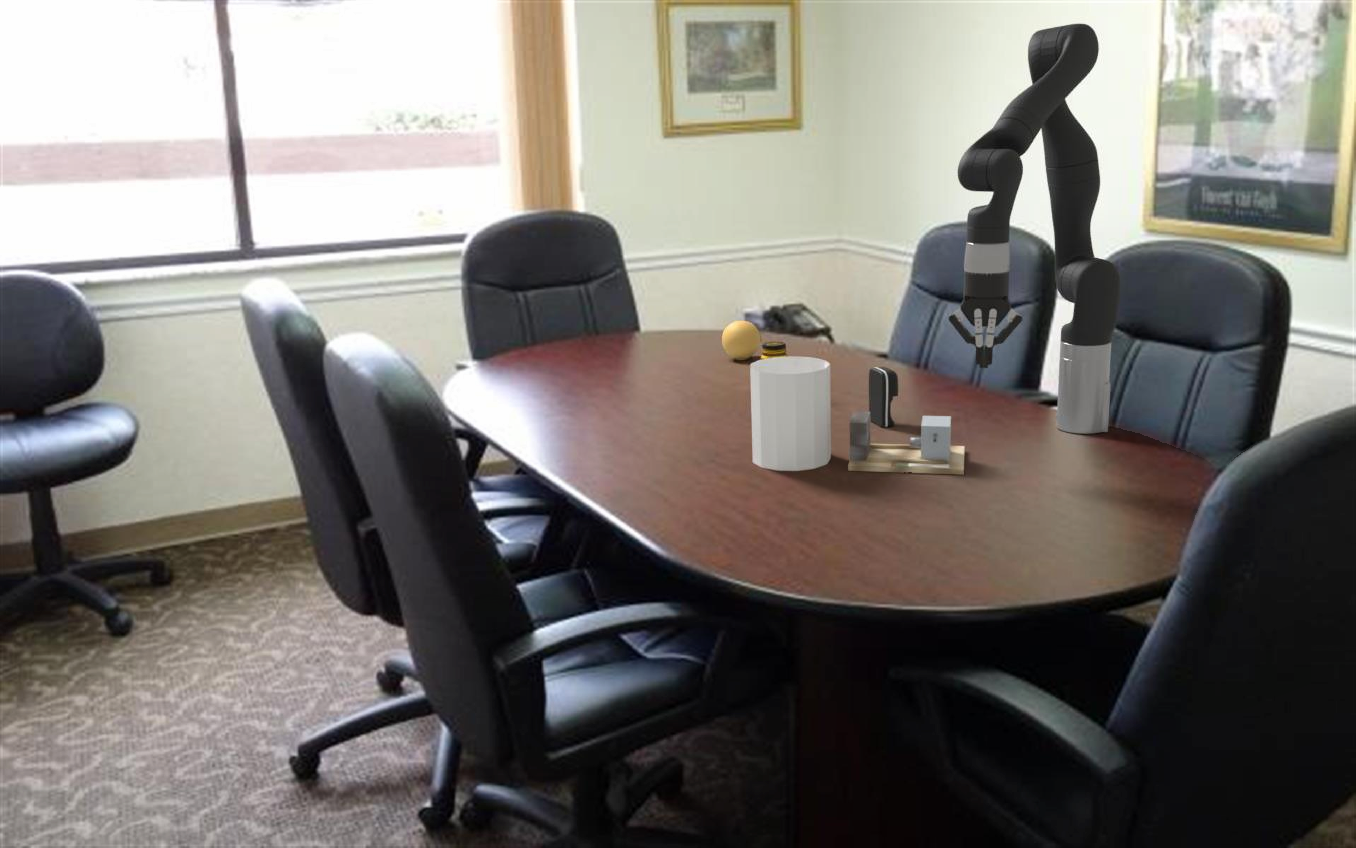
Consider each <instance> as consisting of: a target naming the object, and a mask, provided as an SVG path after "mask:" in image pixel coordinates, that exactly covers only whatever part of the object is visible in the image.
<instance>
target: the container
mask: <svg viewBox="0 0 1356 848" xmlns="http://www.w3.org/2000/svg"><path fill="white" fill-rule="evenodd" d="M749 366H750V367H749V368H750V369H749V373H750V376H749V377H750V404H751V405H750V407H751V408H750V409H751V415H750V416H751V445H752V447H751V448H752V449H751V450H752V451H751V452H752V463H753V464H754V465H756V466H758V467H760V468H762V469H767V470H772V471H780V472H783V471H784V472H786V471H787V472H799V471H806V470H807V471H808V470H814V469H817V468H820V467H823V466H826V465H828V464H829V462H830V460H831V458H832V453H831V452H832V450H831V449H832V448H831V447H832V446H831V445H832V444H831V443H832V442H831V441H832V439H831V436H832V435H831V433H832V432H831V363H830V362H828V361H827V360H825V359H821V358H817V357H811V356H810V357H809V356H798V355H797V356H793V355H792V356H788V357H774V358H768V359H762V360H761V359H759V360H756V361H754V362H751V363H750V365H749Z"/></svg>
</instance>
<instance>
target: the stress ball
mask: <svg viewBox="0 0 1356 848" xmlns="http://www.w3.org/2000/svg"><path fill="white" fill-rule="evenodd" d="M761 342H762V336H761V332H759V330H758V328H757V326H756V324H755V323H753V322H751V321H750V322H749V321H747V320H741V319H740V320H735V321H733V322H731V323H729V324H728V325H727V326H726V327H725V328H724V330H723V332H722V336H721V344H722V347H723V350H724V351H725V352H726V353H727V354H728V355H729V357H732V358H733V359H735V360H737V361H747V360H748V359H749V358H750V357H752V356H754V355H755V354H756V353H757V351H758V350H759V348H760V345H761Z"/></svg>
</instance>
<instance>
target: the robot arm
mask: <svg viewBox="0 0 1356 848" xmlns="http://www.w3.org/2000/svg"><path fill="white" fill-rule="evenodd" d="M1099 45H1100V44H1099V40H1098V36H1097V33H1096V31H1095V30H1094V29H1093V27H1092V26H1090V25H1089V24H1086V23H1071V24H1066V25H1060V26H1053V27H1051V28H1050V27H1049V28H1048V27H1047V28H1045V29H1044V28H1043V29H1039V30H1036V31H1035V32H1034V33H1033V34H1032V35H1031V37H1030V39H1029V42H1028V47H1027V62H1028V69H1029V74H1030V78H1031V79H1030V81H1031V83H1032V84H1031V85H1030V86H1028V87H1027V88H1025V89H1024V90H1023V91H1022V92H1021V93H1019V94H1018V95H1017V96H1015V98H1013V99H1012V100H1011V101H1010V102H1009V103H1008V104H1007V106H1006V107H1005V108H1004V110H1003V111H1002V113H1001V114H1000V116H999V118H998V119H997V121H996V122H995V123H994V125H993V127H992V128H991V129H990V130H988V131H987V132H985V133H984V134H983V135H982V136H980V138H978V139H977V140H976V141H975V142H973V143H972V144H971V145H970V146H969V147H968V148H967V149H966V151H965V152H964V153H963V155H962V156H961V158H960V160H959V162H958V163H959V164H958V166H957V179H958V182H959V184H960V186H962V188H964V189H965V190H968V191H971V192H981V193H982V192H984V193H985V192H986V193H987V192H990V193H991V192H992V193H993V194H992V197H991V198H990V200H989V202H988V204H985V205H979V206H974V207H972V208H970V209H969V211H968V213H967V219H966V221H967V222H966V224H967V225H966V228H967V229H966V245H965V252H964V263H963V268H964V271H963V299H962V301H961V302H960V305H959V308H958V309H957V310H954V312H950V313H949V315H948V321H949V322H950V323H951V325H952V326H953V328H954V329H955V330H956V331H957V332H958V334H959V335H960V337H961V338H962V339H963V340H964V341H965V343H966V344H971V345H973V346H974V347H975V363H976V366H979V368H980V369H988V368H989V366H991V365H992V364H993V357H994V356H993V354H994V353H993V351H994V348H995V347H994V346H996V345H1001V344H1003V343H1004V342H1005V341H1006V340H1007V339H1008V337H1009V336H1011V334H1012V333H1013V332H1014V331H1015V330H1016V328H1017V327H1018V326H1019V325H1020V324H1021V323H1022V321H1023V316H1022V313H1019V312H1016V311H1015V310H1014V309H1013V308H1012V304H1011V302H1010V300H1009V293H1010V268H1011V252H1010V229H1011V228H1010V226H1011V225H1010V224H1011V223H1010V222H1011V215H1012V213H1013V208H1014V205H1015V201H1016V198H1017V194H1018V191H1019V188H1020V186H1021V182H1022V179H1023V174H1024V173H1023V172H1024V165H1023V160H1022V158H1021V157H1022V156H1023V155H1024V154H1026V153H1027V151H1028V150H1029V149H1030V147H1031V145H1032V143H1033V142H1034V141H1035V139H1036V138H1037V135H1038V134H1039V132H1040V131H1041V137H1042V144H1043V154H1044V163H1045V173H1046V181H1047V188H1048V193H1049V201H1050V210H1051V211H1050V212H1051V218H1052V219H1051V220H1052V221H1051V222H1052V226H1053V234H1054V235H1053V236H1054V237H1053V238H1054V239H1053V240H1054V276H1055V277H1054V279H1055V285H1056V289H1057V291H1058V293H1059V295H1060V296H1061V298H1063V299H1064V300H1065V301H1067V302H1069V303H1073V304H1074V305H1073V313H1072V319H1071V320H1070V321H1069V322H1068V323H1065V324H1064V325H1062V326H1061V331H1060V343H1059V344H1060V345H1059V346H1060V347H1059V366H1058V368H1059V369H1058V383H1057V384H1058V386H1057V387H1058V389H1057V407H1056V409H1057V411H1056V427H1057V429H1058V430H1060V431H1063V432H1066V433H1071V434H1089V435H1090V434H1097V433H1108V432H1109V418H1110V417H1109V416H1110V400H1111V382H1110V374H1111V373H1110V371H1111V370H1110V369H1111V354H1112V338H1113V337H1112V336H1113V333H1114V331H1115V329H1116V327H1117V323H1118V319H1119V318H1118V316H1119V310H1120V309H1119V308H1120V298H1121V287H1122V286H1121V284H1122V283H1121V281H1122V280H1121V275H1120V272H1119V269H1118V268H1117V266H1116V265H1115V264H1114V263H1113V262H1112V261H1109V260H1107V259H1105V258H1100V257H1099V258H1098V257H1095V253H1094V248H1093V243H1092V235H1091V234H1092V232H1091V224H1092V218H1093V214H1094V211H1095V207H1096V205H1097V202H1098V197H1099V194H1100V188H1101V175H1100V174H1101V172H1100V166H1099V165H1100V164H1099V155H1098V150H1097V146H1096V145H1095V142H1094V141H1093V139H1092V137H1091V135H1089V133H1088V132H1087V130H1086V129H1085V128H1084V127H1083V125H1081V123H1080V122H1079V120H1078V119H1077V118H1076V116H1075V115H1074V114H1073V113H1072V111H1071V109H1070V107H1069V105H1068V103H1067V101H1066V99H1067V98H1068V96H1070V94H1071V93H1072V92H1073V91H1074V90H1075V89H1076V88H1077V87H1078V86H1079V85H1080V84H1081V83H1082V81H1083V80H1084V79H1086V77H1087V76H1088V75H1089V74H1090V73H1091V71H1092V70H1093V69H1094V67H1095V65H1096V63H1097V61H1098V58H1099V57H1098V56H1099V52H1100V51H1099V49H1100V47H1099ZM1007 315H1008V317H1007ZM963 316H964V317H965V318H966V319H967V321H968V322H969V323H970V325H971V326H973V327H974V332H975V333H974V335H972V333H971V332H970V331H969V330H968V328H967V327H966V326H965V325H964V324H963V321H964V317H963ZM1006 317H1007V318H1006ZM1005 318H1006V320H1007V323H1006V325H1005V326H1003V327H1004V328H1002V330H1001V331H1000V332H999V333H998V334H997V335H995V333H996V332H995V330H996V327H998V326H999V325H1000V324H1001V323H1002V321H1003V320H1004V319H1005ZM984 327H986V337H985V344H984V339H983V338H984V334H983V328H984Z"/></svg>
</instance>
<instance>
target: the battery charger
mask: <svg viewBox="0 0 1356 848" xmlns="http://www.w3.org/2000/svg"><path fill="white" fill-rule="evenodd" d="M898 377H899V376H898V374H897V372H896V371H894V370H893V369H891V368H889V367H887V366H877V367H876V366H875V367H871V368H870V369H869V372H868V412H870V422H873V423H874V424H876V425H878V426H880V427H882V428H888V427H892V426H895V423H896V422H895V421H894V420H893V418H892V416H891V415H892V414H891V404H892V401H893V400H894V397H898V396H899V378H898Z"/></svg>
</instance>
